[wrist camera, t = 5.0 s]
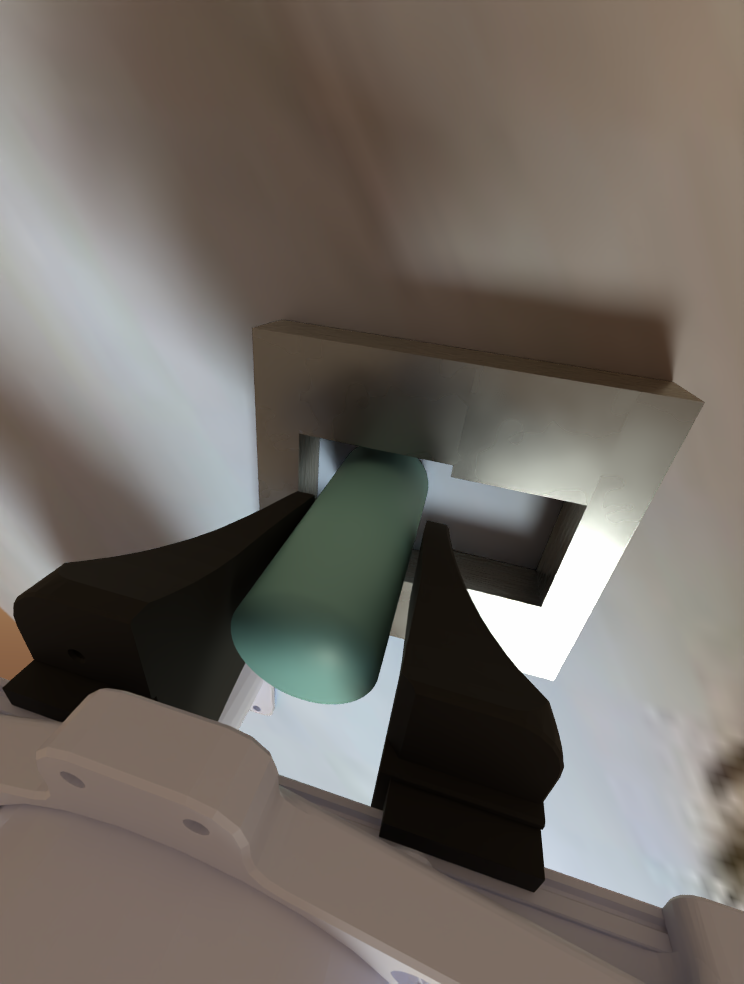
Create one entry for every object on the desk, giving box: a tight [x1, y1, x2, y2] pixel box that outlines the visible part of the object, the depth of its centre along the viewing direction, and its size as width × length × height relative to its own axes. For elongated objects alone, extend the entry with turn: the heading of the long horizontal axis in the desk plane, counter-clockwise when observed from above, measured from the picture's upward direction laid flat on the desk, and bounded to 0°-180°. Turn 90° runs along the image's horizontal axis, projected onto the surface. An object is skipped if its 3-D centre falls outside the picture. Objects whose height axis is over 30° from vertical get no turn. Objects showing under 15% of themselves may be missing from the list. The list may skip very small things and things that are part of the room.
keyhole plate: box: [252, 320, 705, 681], centre depth 14 cm, size 12×11×2 cm
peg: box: [231, 446, 428, 704], centre depth 12 cm, size 3×3×8 cm
